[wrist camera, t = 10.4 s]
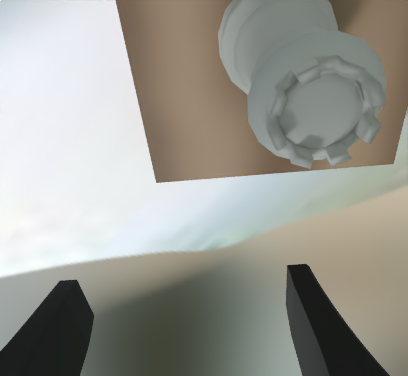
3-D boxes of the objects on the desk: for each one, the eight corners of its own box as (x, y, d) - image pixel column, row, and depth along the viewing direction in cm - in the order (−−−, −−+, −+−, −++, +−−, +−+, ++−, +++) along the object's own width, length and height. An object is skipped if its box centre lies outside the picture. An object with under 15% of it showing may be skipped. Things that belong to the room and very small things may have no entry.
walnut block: (162, 154, 21) (156, 182, 18) (110, -108, 14) (89, -118, 12) (370, 136, 20) (393, 163, 18) (424, -153, 13) (473, -174, 11)
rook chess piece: (256, -55, 12) (305, -46, 6) (353, 10, 14) (486, 77, 7) (198, 60, 15) (188, 156, 8) (286, 107, 16) (338, 225, 9)
